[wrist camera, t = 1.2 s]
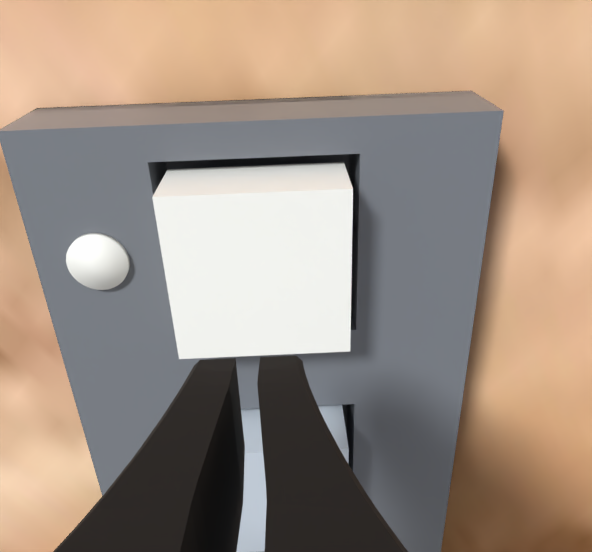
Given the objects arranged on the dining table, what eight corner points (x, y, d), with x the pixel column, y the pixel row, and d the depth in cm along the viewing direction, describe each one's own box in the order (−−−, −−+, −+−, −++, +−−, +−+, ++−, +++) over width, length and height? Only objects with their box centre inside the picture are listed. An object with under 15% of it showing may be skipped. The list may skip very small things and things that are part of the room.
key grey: (341, 402, 18) (348, 448, 16) (340, 497, 20) (346, 547, 19) (202, 408, 18) (195, 455, 16) (217, 503, 20) (211, 553, 19)
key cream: (343, 161, 14) (353, 188, 13) (342, 310, 16) (350, 351, 15) (167, 169, 14) (152, 196, 13) (189, 317, 16) (178, 359, 15)
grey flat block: (471, 90, 16) (506, 112, 13) (414, 592, 27) (428, 653, 24) (36, 108, 15) (-7, 132, 13) (161, 605, 26) (149, 667, 24)
